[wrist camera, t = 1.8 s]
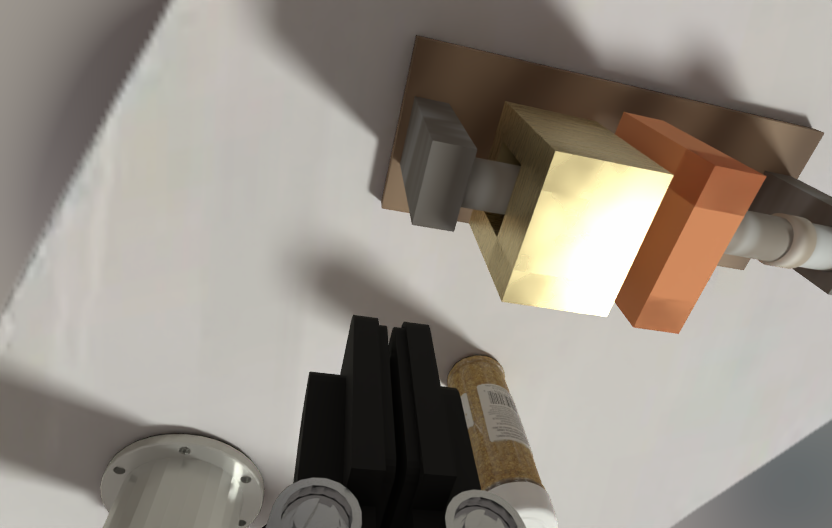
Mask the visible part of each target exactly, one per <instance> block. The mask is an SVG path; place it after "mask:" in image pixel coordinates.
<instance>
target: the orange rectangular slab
mask: <svg viewBox="0 0 832 528" xmlns="http://www.w3.org/2000/svg"><path fill="white" fill-rule="evenodd" d="M615 135H617V136H618V137H620V138H621V139H623V140H624V141H625V142H627V143H628V144H630V145H631V146H633V147H634V148H636V149H637V150H638V151H640V152H641V153H643V154H644V155H646V156H647V157H649V158H650V159H651V160H653V161H654V162H656V163H657V164H659V165H660V166H661V167H663V168H664V169H666V170H667V171H669V172H670V173H672V174H673V175H674V176H673V178H672V180H671V182H670V184H669V186H668V188H667V191H666V193H665V195H664V197H663V199H662V201H661V203H660V205H659V207H658V210H657V212H656V214H655V216H654V218H653V220H652V222H651V224H650V226H649V229H648V231H647V233H646V235H645V237H644V239H643V241H642V243H641V245H640V248H639V250H638V252H637V254H636V256H635V258H634V260H633V262H632V265H631V267H630V269H629V271H628V273H627V275H626V277H625V279H624V281H623V284H622V286H621V288H620V290H619V292H618V294H617V296H616V298H615V300H614V302H615V303H616V305H617V306H618V307H619V309H620V310H621V311H622V313H623V314H624V315H625V317H626V318H627V319H628V321H629V322H630V323H631V325H632V326H633V327H635V328H642V329H649V330H656V331H663V332H670V333H677V334H679V332H680V330H681V329H682V327H683V325H684V323H685V322H686V320H687V318H688V316H689V314H690V313H691V311H692V309H693V307H694V305H695V304H696V302H697V300H698V298H699V296H700V295H701V293H702V291H703V289H704V288H705V286H706V284H707V282H708V280H709V279H710V277H711V275H712V273H713V271H714V270H715V268H716V266H717V264H718V262H719V261H720V259H721V257H722V255H723V254H724V252H725V250H726V248H727V246H728V245H729V243H730V241H731V239H732V237H733V236H734V234H735V232H736V230H737V228H738V227H739V225H740V223H741V221H742V220H743V218H744V216H745V214H746V212H747V211H748V209H749V207H750V205H751V203H752V202H753V200H754V198H755V196H756V195H757V193H758V191H759V189H760V187H761V186H762V184H763V182H764V180H765V178H766V177H767V176H765V175H763V174H761V173H759V172H758V171H756V170H754V169H752V168H750V167H748V166H746V165H745V164H743V163H741V162H739V161H737V160H735V159H733V158H732V157H730V156H728V155H726V154H724V153H722V152H720V151H719V150H717V149H715V148H713V147H711V146H709V145H707V144H706V143H704V142H702V141H700V140H698V139H696V138H694V137H693V136H691V135H689V134H687V133H685V132H683V131H682V130H680V129H678V128H676V127H674V126H672V125H670V124H669V123H667V122H665V121H662V120H658V119H654V118H649V117H645V116H640V115H636V114H631V113H627V112H623V115H622V117H621V119H620V122H619V124H618V127H617V129H616V132H615Z"/></svg>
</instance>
